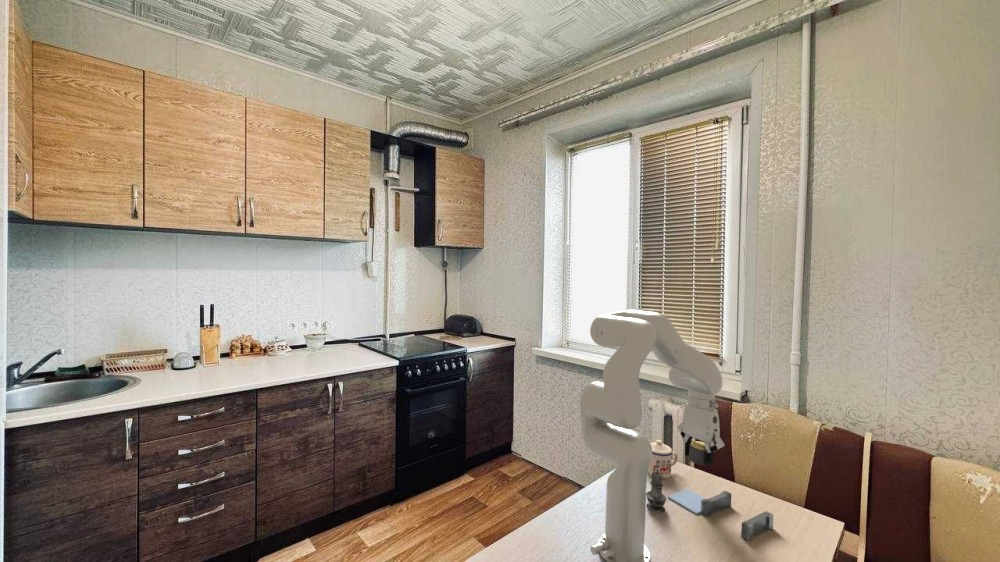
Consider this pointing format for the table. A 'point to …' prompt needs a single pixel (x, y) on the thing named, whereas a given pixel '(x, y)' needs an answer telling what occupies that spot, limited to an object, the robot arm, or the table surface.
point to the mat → (688, 500)
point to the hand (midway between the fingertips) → (698, 458)
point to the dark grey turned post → (656, 494)
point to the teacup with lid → (661, 459)
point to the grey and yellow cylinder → (697, 452)
